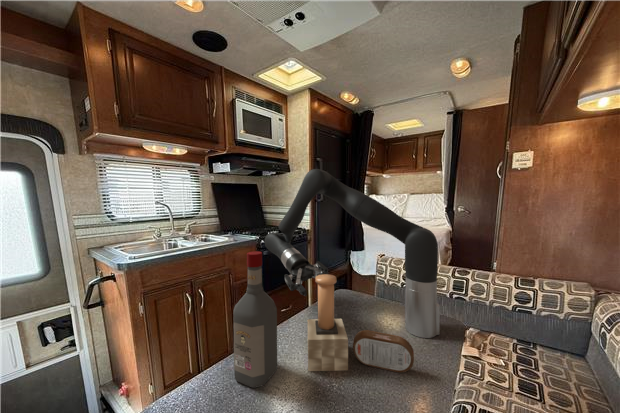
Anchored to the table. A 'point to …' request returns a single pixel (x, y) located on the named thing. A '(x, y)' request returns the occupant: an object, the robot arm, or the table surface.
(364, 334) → the tin
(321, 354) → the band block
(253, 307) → the liquor
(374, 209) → the robot arm
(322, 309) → the flanged tan peg
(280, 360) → the table surface
